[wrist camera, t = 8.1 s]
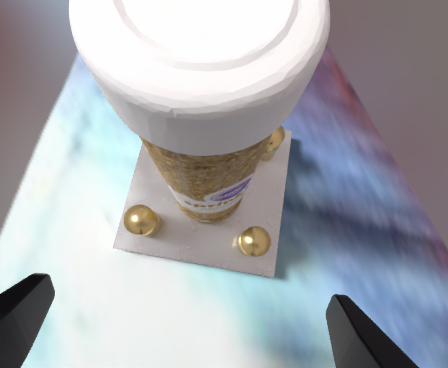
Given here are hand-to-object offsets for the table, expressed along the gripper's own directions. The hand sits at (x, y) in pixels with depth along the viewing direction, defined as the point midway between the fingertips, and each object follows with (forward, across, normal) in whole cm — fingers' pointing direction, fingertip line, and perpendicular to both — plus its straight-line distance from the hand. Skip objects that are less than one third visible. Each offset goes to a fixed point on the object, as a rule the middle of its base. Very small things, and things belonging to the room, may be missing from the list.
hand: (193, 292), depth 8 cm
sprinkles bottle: (+9, 0, +2) cm, 10 cm away
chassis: (+10, 0, +2) cm, 10 cm away
